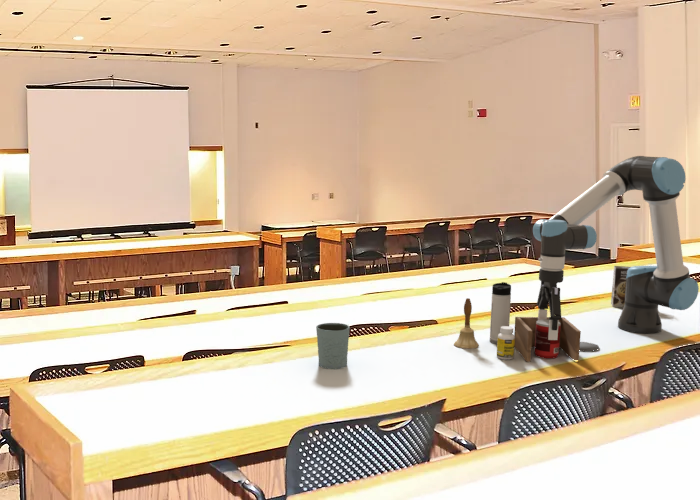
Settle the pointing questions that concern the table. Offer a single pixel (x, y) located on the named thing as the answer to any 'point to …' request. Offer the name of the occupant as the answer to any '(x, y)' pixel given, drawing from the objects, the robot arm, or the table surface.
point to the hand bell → (467, 330)
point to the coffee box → (619, 286)
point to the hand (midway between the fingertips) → (547, 334)
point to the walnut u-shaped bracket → (527, 331)
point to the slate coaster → (588, 346)
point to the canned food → (546, 341)
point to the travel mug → (499, 309)
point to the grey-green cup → (332, 345)
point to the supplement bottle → (506, 343)
